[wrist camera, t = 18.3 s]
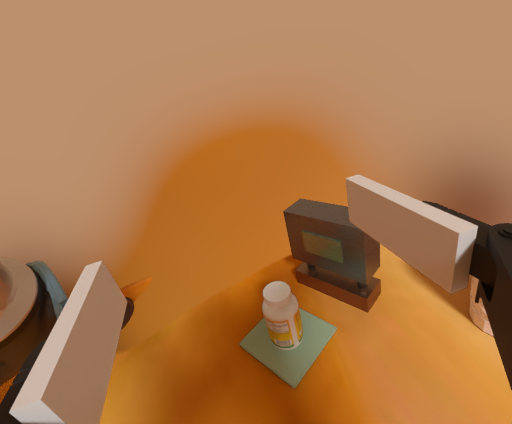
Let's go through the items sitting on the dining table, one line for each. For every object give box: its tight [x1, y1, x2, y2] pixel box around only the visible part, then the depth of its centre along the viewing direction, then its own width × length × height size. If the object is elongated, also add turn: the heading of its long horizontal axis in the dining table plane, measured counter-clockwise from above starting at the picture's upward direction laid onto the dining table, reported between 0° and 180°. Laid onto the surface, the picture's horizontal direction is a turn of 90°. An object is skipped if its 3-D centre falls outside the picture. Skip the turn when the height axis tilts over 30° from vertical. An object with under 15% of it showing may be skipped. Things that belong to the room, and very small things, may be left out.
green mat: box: [239, 308, 337, 389], centre depth 42 cm, size 11×11×1 cm
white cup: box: [469, 276, 494, 336], centre depth 35 cm, size 8×8×10 cm
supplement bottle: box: [262, 281, 304, 350], centre depth 40 cm, size 5×5×10 cm
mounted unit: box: [284, 199, 381, 312], centre depth 46 cm, size 14×5×16 cm, turn 47°
